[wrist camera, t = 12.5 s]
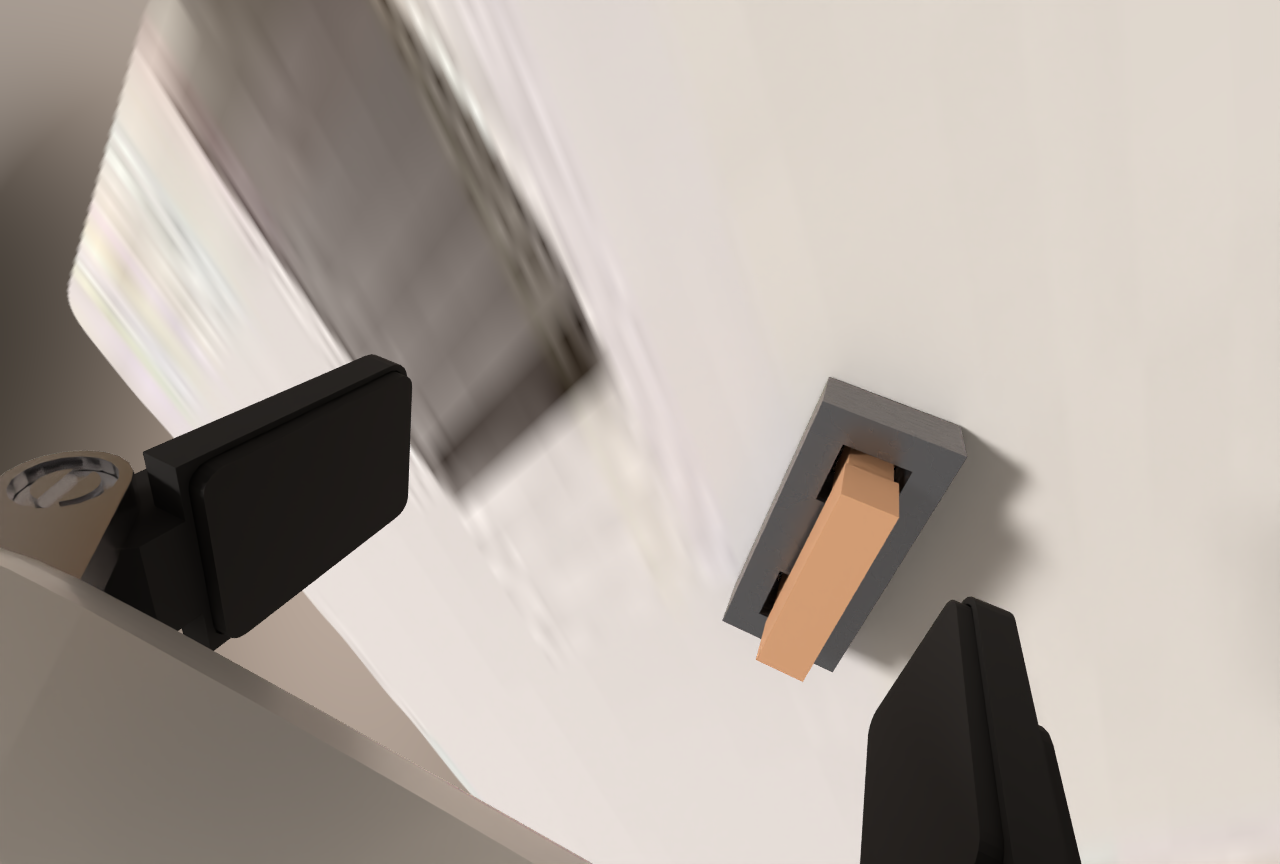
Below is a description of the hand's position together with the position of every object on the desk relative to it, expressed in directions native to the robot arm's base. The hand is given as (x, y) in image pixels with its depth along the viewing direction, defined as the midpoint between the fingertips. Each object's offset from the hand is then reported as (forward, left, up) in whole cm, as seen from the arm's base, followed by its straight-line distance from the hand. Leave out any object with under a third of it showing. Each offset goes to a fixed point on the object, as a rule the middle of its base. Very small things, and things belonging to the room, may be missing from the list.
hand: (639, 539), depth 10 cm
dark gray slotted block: (-7, +16, -30) cm, 34 cm away
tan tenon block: (-7, +16, -30) cm, 34 cm away
